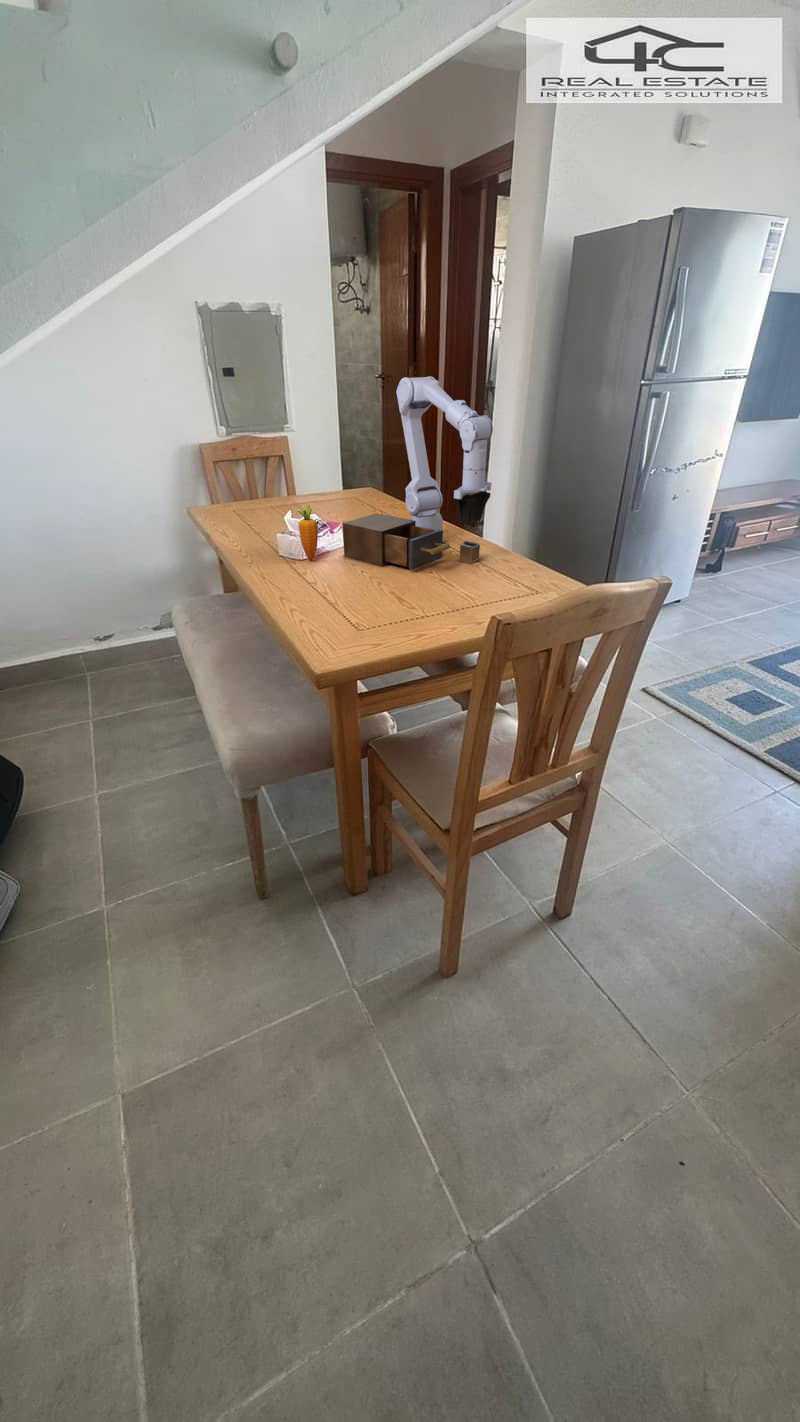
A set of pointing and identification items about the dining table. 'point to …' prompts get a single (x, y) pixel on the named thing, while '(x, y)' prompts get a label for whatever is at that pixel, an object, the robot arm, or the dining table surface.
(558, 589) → the dining table surface
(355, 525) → the cabinet
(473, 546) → the striped metal cube
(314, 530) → the carrot
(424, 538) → the drawer
